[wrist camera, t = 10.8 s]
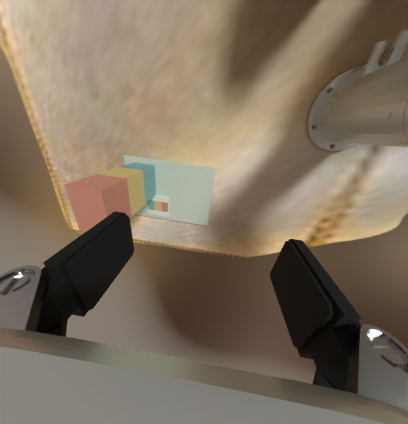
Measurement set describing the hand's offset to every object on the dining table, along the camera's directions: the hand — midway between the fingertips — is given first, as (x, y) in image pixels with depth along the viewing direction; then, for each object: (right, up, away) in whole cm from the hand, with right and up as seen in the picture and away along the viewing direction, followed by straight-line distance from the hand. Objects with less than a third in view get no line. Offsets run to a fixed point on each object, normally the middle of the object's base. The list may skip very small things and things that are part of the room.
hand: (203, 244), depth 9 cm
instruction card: (-12, +4, +31) cm, 34 cm away
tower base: (-15, +10, +28) cm, 33 cm away
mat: (-9, +7, +30) cm, 32 cm away
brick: (-16, +5, +17) cm, 24 cm away
